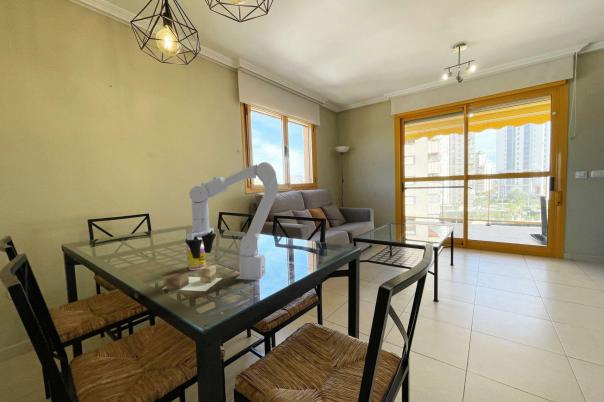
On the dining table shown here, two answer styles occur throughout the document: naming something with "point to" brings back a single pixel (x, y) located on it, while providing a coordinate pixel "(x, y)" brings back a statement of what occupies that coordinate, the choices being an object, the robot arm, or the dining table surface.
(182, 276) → the walnut base
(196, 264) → the supplement bottle
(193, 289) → the cream flat slab
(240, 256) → the robot arm
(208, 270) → the maple pillar
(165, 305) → the dining table surface
